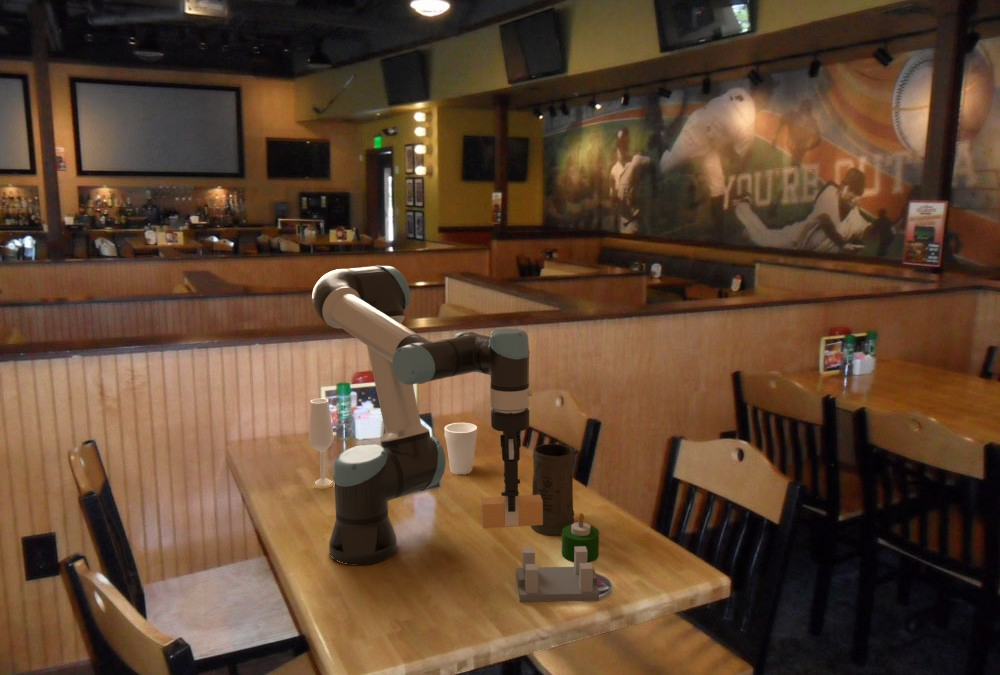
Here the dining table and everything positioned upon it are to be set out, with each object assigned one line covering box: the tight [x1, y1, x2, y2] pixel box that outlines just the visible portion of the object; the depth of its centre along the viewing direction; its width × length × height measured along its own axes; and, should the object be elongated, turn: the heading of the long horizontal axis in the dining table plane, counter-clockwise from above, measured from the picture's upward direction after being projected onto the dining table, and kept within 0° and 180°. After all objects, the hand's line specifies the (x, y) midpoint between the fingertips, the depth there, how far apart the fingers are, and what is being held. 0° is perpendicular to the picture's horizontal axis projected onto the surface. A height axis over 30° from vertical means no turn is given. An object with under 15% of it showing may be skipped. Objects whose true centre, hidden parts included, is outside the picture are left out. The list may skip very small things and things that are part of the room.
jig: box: [515, 546, 600, 603], centre depth 159 cm, size 16×11×6 cm
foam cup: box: [444, 422, 478, 475], centre depth 222 cm, size 10×9×13 cm
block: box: [480, 494, 543, 529], centre depth 155 cm, size 12×4×5 cm, turn 95°
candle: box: [561, 512, 600, 563], centre depth 173 cm, size 8×8×10 cm
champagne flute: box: [308, 397, 335, 486], centre depth 211 cm, size 7×7×24 cm
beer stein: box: [530, 443, 576, 536], centre depth 188 cm, size 15×11×20 cm
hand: (511, 520), depth 156 cm, fingers closed on block, 4 cm apart
